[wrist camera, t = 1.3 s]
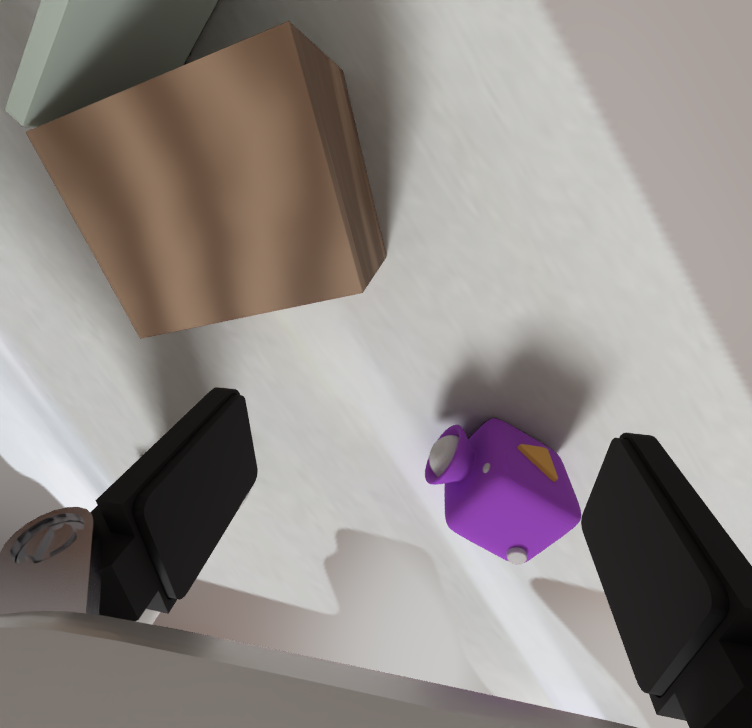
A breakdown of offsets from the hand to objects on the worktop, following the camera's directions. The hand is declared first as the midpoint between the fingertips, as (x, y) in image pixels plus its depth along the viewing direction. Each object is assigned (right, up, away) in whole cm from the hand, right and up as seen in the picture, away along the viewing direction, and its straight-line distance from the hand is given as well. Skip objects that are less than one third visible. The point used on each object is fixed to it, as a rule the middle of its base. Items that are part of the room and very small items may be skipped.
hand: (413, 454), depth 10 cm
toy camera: (+11, -7, +32) cm, 35 cm away
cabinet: (-10, +17, +24) cm, 31 cm away
